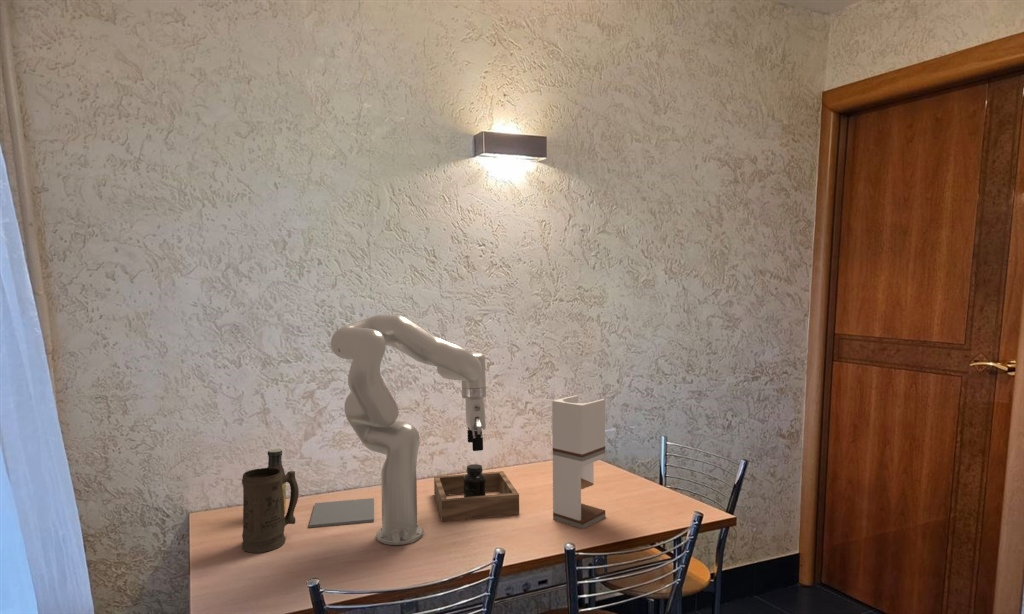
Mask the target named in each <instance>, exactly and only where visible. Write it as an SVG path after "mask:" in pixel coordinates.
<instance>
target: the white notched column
mask: <svg viewBox="0 0 1024 614" xmlns="http://www.w3.org/2000/svg"><path fill="white" fill-rule="evenodd" d="M551 403H552V404H551V405H552V407H551V408H552V411H551V412H552V416H551V417H552V421H551V422H552V425H551V427H552V429H551V430H552V432H551V433H552V520H555V521H556V522H557V521H558V522H560V523H563V524H566V525H569V526H571V527H575V528H579V529H581V530H583V529H585V528H587V527H590V526H591V525H593V524H595V523H597V522H599V521H601V520H603V519H605V518H606V510H605V509H602V508H598V507H596V506H592V505H588V504H585V503H582V490H584V489H587V488H589V487H592V486H594V485H595V484H594V480H595V479H594V477H595V476H594V471H595V470H594V467H595V466H594V462H598V461H600V460H602V459H605V458H606V399H604V398H601V399H597V400H593V401H589V402H580V403H579V395H576V394H575V395H572V396H566V397H562V398H558V399H554V400H552V401H551Z"/></svg>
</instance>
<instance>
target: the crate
mask: <svg viewBox="0 0 1024 614" xmlns="http://www.w3.org/2000/svg"><path fill="white" fill-rule="evenodd" d="M466 474H467V473H465V474H454V475H453V474H451V475H439V476H438V475H437V476H433V479H434V480H433V482H434V483H433V485H434V486H433V488H434V489H433V490H434V491H433V493H434V494H435V495H434V498H436V499H435V502H436V501H437V502H436V505H438V506H437V508H439V509H438V513H439V512H440V513H439V515H440V519H442V520H441V522H449V521H448V520H453V521H460V520H461V521H463V520H472V519H482V518H483V519H485V518H494V517H501V516H502V517H505V516H512V515H513V516H514V515H520V493H519V492H518V491H517V489H516V488H515V486H514V485H513V484H512V482H511V480H510V479H509V478H508V476H507V475H506V473H505V472H504V471H491V472H482V474H483V475H484V476H485V480H486V491H492V492H498V491H497V490H500V491H499V492H500V494H499V493H497V494H488V495H485V496H474V497H464V496H463V497H452V498H447V496H450V495H449V494H457V495H463V494H462V493H464V476H465V475H466ZM462 519H463V520H462Z"/></svg>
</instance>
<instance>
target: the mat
mask: <svg viewBox="0 0 1024 614" xmlns="http://www.w3.org/2000/svg"><path fill="white" fill-rule="evenodd" d="M374 519H375V498H374V497H372V498H370V497H369V498H360V499H347V500H337V501H336V500H335V501H326V502H315V503H314V507H313V511H312V514H311V517H310V521H309V526H308V527H309V529H310V528H311V527H314V528H321V527H320V526H325V527H333V526H332V525H335V526H341V525H340V524H346V525H353V524H352V523H357V524H366V523H365V522H367V523H374V522H375V521H374ZM350 523H351V524H350ZM311 529H312V528H311Z"/></svg>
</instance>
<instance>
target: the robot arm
mask: <svg viewBox="0 0 1024 614" xmlns="http://www.w3.org/2000/svg"><path fill="white" fill-rule="evenodd" d="M386 346H389V347H393V348H394V349H396V350H398V351H399V352H401V353H403V354H405V355H406V356H408V357H409V358H412V359H414V360H415V361H417V362H419V363H422V364H425V365H428V366H433V367H436V371H437V373H438V374H439V376H440V377H442V378H444V379H446V380H452V381H461V398H462V399H465V401H464V402H465V420H466V425H467V442H468V443H469V444H470V443H472V451H473V452H478V451H483V450H484V437H483V435H484V434H483V431H484V430H486V428H487V426H486V423H487V422H486V409H485V401H484V400H485V398H486V397H487V386H486V385H487V381H486V377H487V376H486V356H485V354H484V353H483V352H482V353H481V352H477V351H476V352H475V351H473V352H470V351H468V350H467V349H465V348H462V347H461V346H458V345H457V344H454V343H452V342H449V341H447V340H444V339H443V338H440V337H438V336H435V335H433V334H431V333H430V332H428V331H427V330H425V329H424V328H422V327H420V326H419V325H418V324H416V323H415V322H413V321H411V320H410V319H408V318H406V317H405V316H403V315H395V314H394V315H393V314H377V315H373V316H370V317H366V318H364V319H361V320H359V321H358V320H357V322H352V323H349V324H347V325H344V326H342V327H340V328H339V329H337V330H336V331H335V332H334V333H333V334H332V336H331V339H330V348H331V351H332V352H333V354H334V355H335V356H337V357H338V358H339V359H340V358H341V359H343V360H351V363H350V367H349V371H348V375H347V385H348V388H349V391H350V393H349V394H348V395H347V397H346V399H345V401H344V407H343V408H344V414H345V417H346V420H347V422H348V423H349V425H350V426H351V428H352V429H353V431H354V432H355V434H356V435H357V436H358V438H359V440H360V442H361V443H362V444H363V446H364V447H365V448H367V449H368V450H370V451H372V452H375V453H378V454H381V455H382V454H383V455H385V456H386V457H385V460H384V463H383V464H382V465H383V466H382V468H381V474H380V475H381V478H380V479H381V481H380V482H381V485H380V487H381V488H380V489H381V491H380V492H381V528H380V529H378V530H377V532H376V537H375V538H376V540H377V541H378V542H379V543H381V544H383V545H388V546H389V545H391V546H401V545H408V544H411V543H414V542H416V541H418V540H420V539H421V538H422V537H423V535H424V529H423V527H421V526H420V525H419V524H418V495H417V494H418V491H417V490H418V489H417V487H418V485H417V482H418V480H417V461H418V453H419V449H420V441H421V438H420V434H419V431H418V430H417V428H416V427H415V426H413V425H412V424H411V423H409V422H405V421H400V420H398V419H399V415H400V414H399V413H400V412H399V407H398V404H397V402H396V399H394V397H393V395H392V392H391V391H390V389H389V388H388V386H387V385H386V383H385V381H384V379H383V376H382V374H381V365H382V361H383V357H384V355H385V351H386V348H387V347H386Z"/></svg>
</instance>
